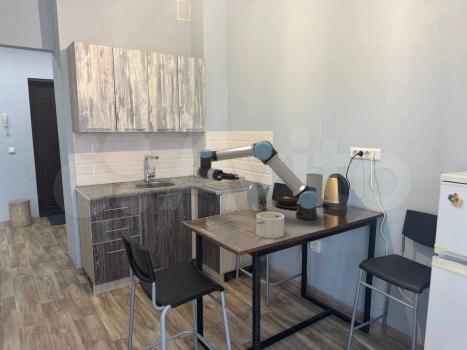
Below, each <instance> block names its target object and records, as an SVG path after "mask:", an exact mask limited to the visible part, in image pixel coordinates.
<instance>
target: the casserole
mask: <svg viewBox="0 0 467 350" xmlns="http://www.w3.org/2000/svg"><path fill="white" fill-rule="evenodd" d="M276 200H277V201H273V202H272V203H273V204H274V205H275V206H277V207H280V208H282V209H287V210H289V209H294V210H295V209H296V210H297V209H298V204H299V202H298V201H297V199H296V198H295V197H294V196H293V194H280V195H278V196H277V198H276Z"/></svg>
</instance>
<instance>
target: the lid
mask: <svg viewBox="0 0 467 350" xmlns="http://www.w3.org/2000/svg"><path fill="white" fill-rule="evenodd" d="M249 185H250V186H249V187H248V189H247V192H246V201H247V205H248V207H249V209H250V210H251V211H252V212H254V215H255V214H256V213H259V212H264V211H263V210H262V209H263V208H264V206H265V202H266V194H265V191H264V188H265V187H263V186H262V184H260V183H258V182H255V183H251V184H249Z"/></svg>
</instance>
